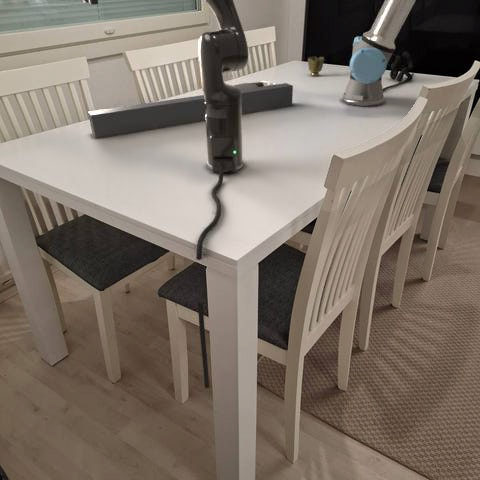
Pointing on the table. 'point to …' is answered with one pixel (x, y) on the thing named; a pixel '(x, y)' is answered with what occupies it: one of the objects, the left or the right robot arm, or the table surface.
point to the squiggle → (400, 66)
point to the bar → (180, 111)
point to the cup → (315, 65)
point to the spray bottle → (254, 85)
